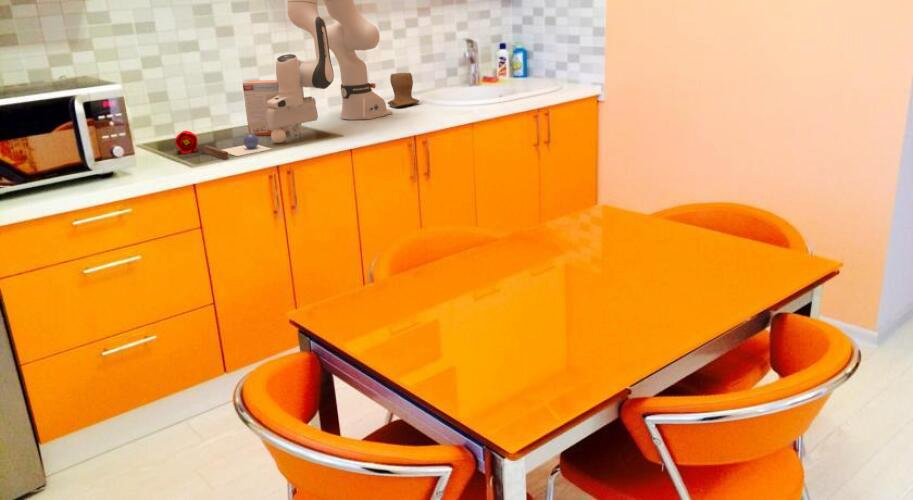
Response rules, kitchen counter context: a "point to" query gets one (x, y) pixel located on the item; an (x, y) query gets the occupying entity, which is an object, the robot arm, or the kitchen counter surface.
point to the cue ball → (278, 135)
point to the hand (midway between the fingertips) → (294, 135)
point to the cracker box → (259, 105)
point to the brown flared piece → (402, 90)
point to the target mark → (245, 150)
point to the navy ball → (250, 141)
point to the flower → (186, 141)
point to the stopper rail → (216, 152)
